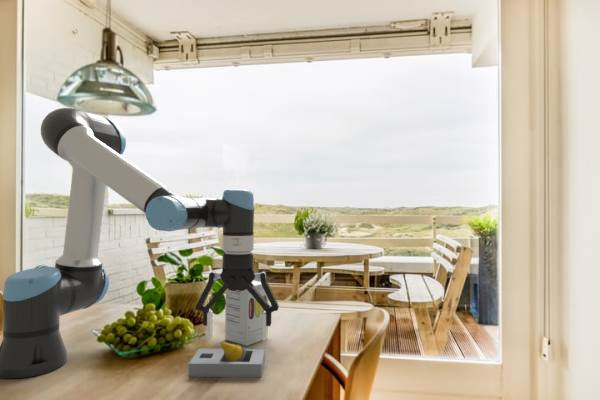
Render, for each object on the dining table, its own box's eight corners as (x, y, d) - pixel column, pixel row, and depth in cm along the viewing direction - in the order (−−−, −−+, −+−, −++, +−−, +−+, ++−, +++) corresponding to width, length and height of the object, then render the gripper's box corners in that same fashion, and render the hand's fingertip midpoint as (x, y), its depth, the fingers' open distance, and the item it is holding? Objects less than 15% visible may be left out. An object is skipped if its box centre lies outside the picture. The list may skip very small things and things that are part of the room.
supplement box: (246, 346, 116) (246, 287, 117) (223, 340, 122) (224, 283, 122) (268, 338, 124) (269, 282, 124) (246, 332, 130) (247, 278, 130)
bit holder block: (188, 376, 96) (188, 363, 96) (199, 360, 106) (199, 348, 106) (261, 377, 96) (261, 364, 96) (265, 360, 106) (265, 349, 106)
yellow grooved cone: (251, 367, 102) (230, 347, 96) (233, 374, 102) (210, 355, 97) (251, 348, 106) (230, 328, 100) (233, 355, 107) (212, 336, 101)
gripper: (183, 253, 98) (182, 343, 97) (288, 254, 98) (287, 344, 97) (191, 250, 105) (190, 333, 105) (289, 251, 105) (288, 334, 105)
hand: (237, 339), depth 101 cm, fingers open, 13 cm apart
